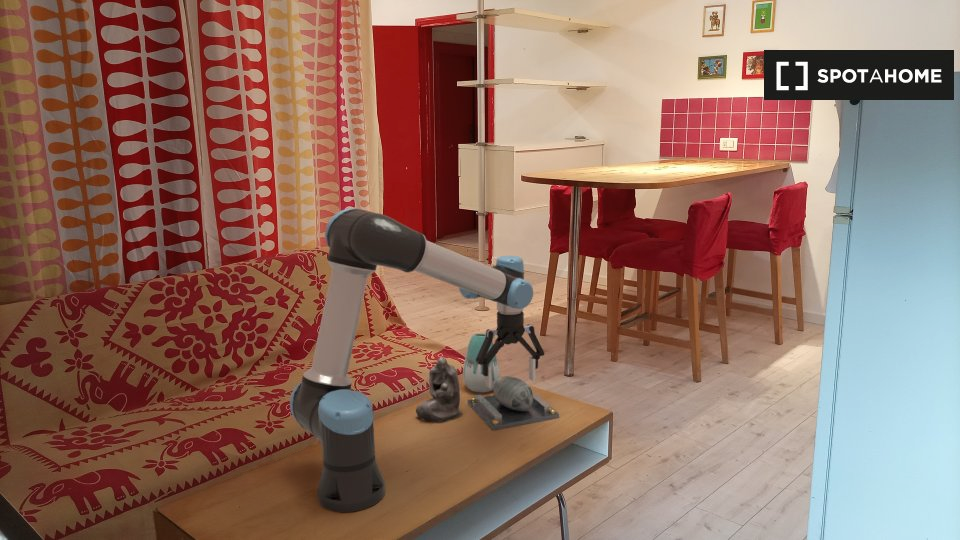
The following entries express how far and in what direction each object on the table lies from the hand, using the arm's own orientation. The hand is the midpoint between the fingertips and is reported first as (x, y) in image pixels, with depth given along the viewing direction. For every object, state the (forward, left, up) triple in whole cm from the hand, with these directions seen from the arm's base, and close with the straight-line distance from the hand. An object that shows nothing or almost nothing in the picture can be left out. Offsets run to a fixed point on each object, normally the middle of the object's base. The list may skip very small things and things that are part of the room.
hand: (510, 383), depth 206 cm
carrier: (0, 0, -8) cm, 8 cm away
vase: (-2, +19, -9) cm, 21 cm away
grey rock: (+1, 0, -7) cm, 7 cm away
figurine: (-20, +5, -9) cm, 22 cm away
